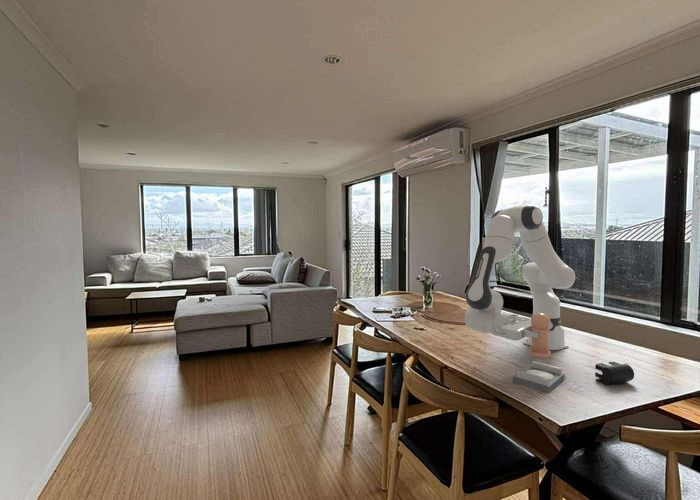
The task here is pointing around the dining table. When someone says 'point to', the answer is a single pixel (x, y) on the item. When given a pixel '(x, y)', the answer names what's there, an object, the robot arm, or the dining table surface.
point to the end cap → (614, 373)
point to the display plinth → (540, 376)
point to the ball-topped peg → (541, 343)
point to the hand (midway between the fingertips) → (542, 333)
